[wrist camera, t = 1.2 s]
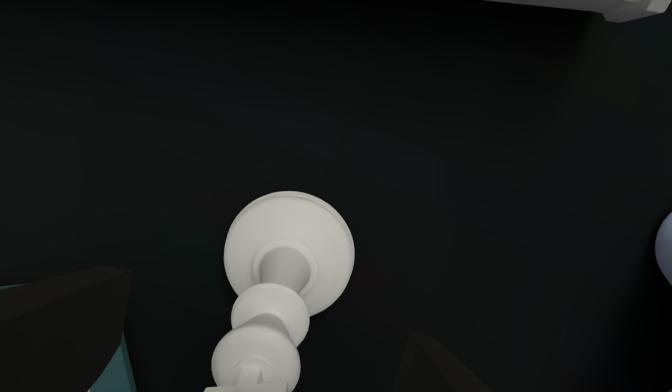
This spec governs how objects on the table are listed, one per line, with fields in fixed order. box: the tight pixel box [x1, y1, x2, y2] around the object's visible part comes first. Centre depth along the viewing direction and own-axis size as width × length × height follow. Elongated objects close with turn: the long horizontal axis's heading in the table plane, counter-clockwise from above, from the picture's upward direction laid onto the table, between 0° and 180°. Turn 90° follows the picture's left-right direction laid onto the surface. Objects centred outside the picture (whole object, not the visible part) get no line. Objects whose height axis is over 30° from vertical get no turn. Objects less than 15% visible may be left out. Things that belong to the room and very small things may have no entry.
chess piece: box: [204, 191, 354, 392], centre depth 14 cm, size 5×5×10 cm
